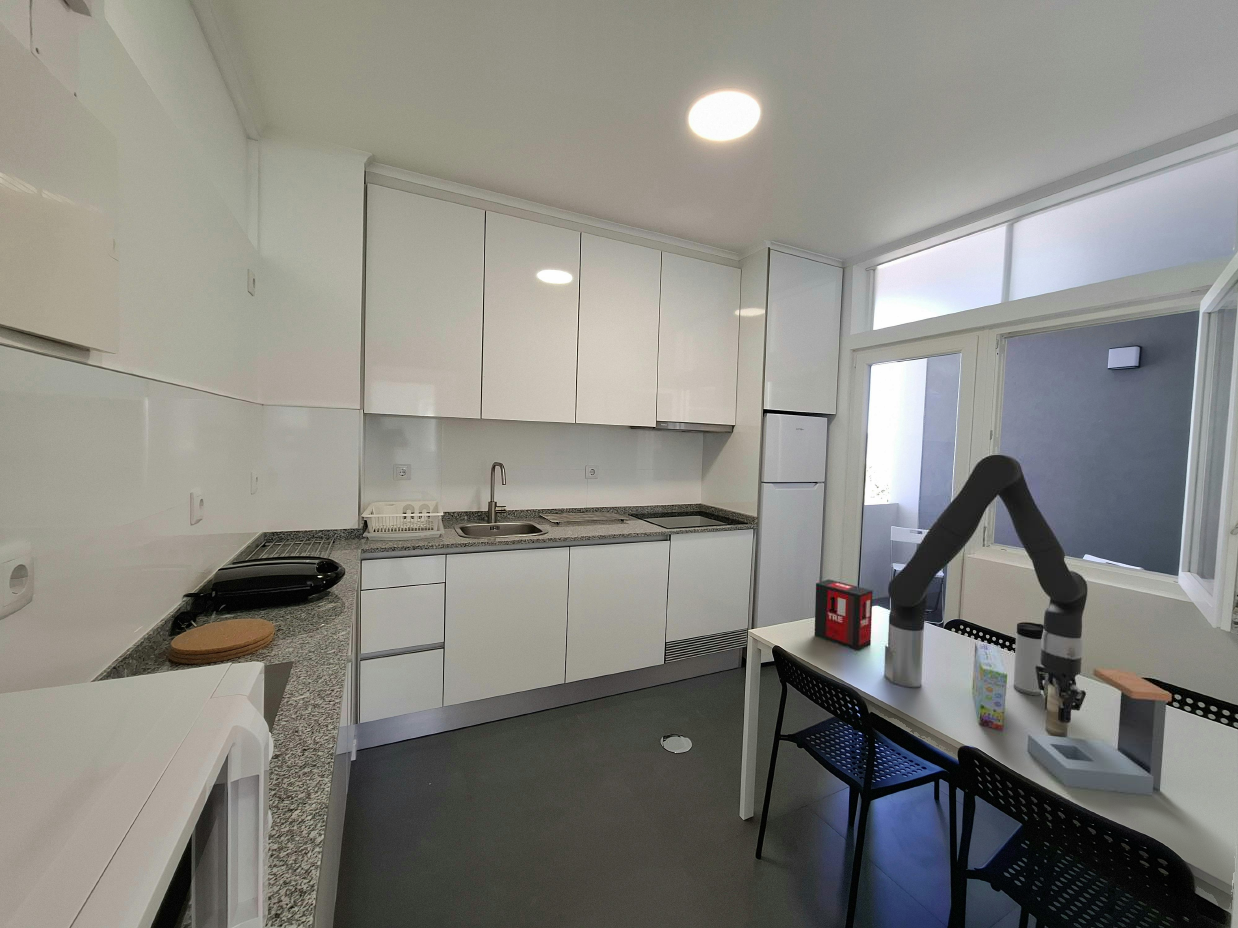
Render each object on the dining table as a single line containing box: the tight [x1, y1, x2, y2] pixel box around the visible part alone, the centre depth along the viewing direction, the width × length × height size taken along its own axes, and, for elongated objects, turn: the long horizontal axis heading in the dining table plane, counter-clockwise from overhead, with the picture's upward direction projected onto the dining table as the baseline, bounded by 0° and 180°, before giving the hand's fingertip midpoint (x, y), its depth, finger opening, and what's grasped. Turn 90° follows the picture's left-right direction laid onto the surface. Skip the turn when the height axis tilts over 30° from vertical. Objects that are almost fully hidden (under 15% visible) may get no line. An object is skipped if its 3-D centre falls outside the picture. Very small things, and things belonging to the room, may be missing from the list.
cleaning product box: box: [814, 579, 873, 652], centre depth 176 cm, size 16×9×20 cm, turn 37°
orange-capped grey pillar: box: [1092, 668, 1173, 791], centre depth 106 cm, size 7×10×22 cm
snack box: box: [971, 641, 1008, 731], centre depth 132 cm, size 21×6×15 cm, turn 148°
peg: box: [1045, 684, 1069, 738], centre depth 121 cm, size 4×4×12 cm
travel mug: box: [1012, 621, 1044, 696], centre depth 142 cm, size 6×7×20 cm
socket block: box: [1026, 733, 1154, 796], centre depth 107 cm, size 16×12×4 cm
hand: (1057, 716), depth 121 cm, fingers closed on peg, 4 cm apart
